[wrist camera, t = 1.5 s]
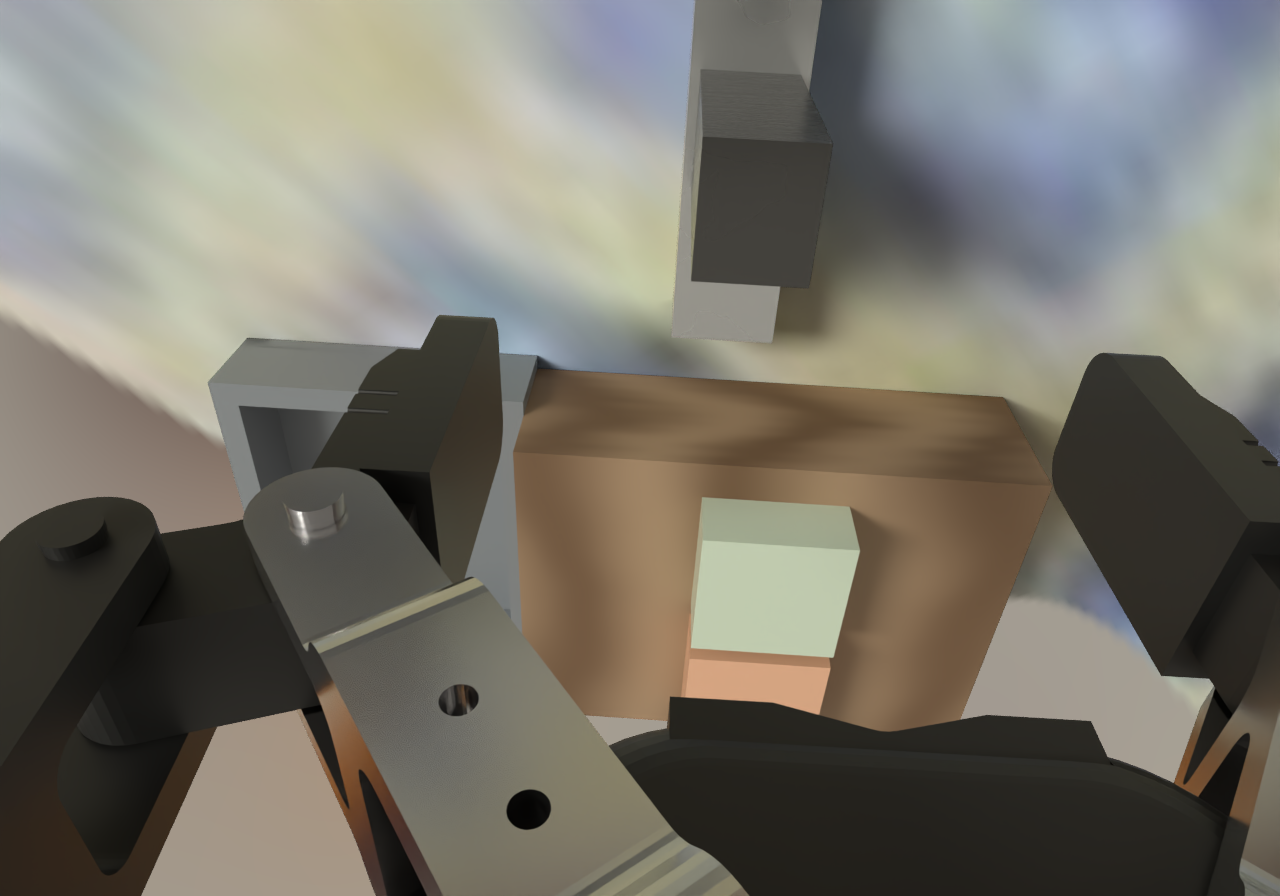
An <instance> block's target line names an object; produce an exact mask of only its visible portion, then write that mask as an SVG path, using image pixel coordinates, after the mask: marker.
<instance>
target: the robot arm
mask: <svg viewBox="0 0 1280 896" xmlns="http://www.w3.org/2000/svg"><path fill="white" fill-rule="evenodd" d="M347 408H348V411H347V412H344V414H343V416H342V417H341V419H340V421H339V423H338V424H337V426H336V428H335V429H334V431H333V433H332V434H331V436H330V438H329V440H328V441H327V443H326V445H325V446H324V448H323V450H322V451H321V453H320V455H319V456H318V458H317V460H316V461H315V463H314V465H313V467H312V468H311V469H309V470H304V471H300V472H296V473H293V474H290V475H288V476H285V477H283V478H280V479H278V480H276V481H274V482H272V483H271V484H269V485H268V486H266V487H265V488H263V489H262V490H261V491H260V492H258V493H257V494H256V495H255V496H254V497H253V499H252V500H251V501H250V502H249V504H248V506H247V507H246V509H245V512H244V516H243V520H239V521H236V522H231V523H226V524H221V525H214V526H208V527H201V528H195V529H188V530H182V531H175V532H169V533H162V534H160V532H159V529H158V526H157V524H156V521H155V518H154V516H153V513H152V512H151V511H150V510H149V509H148V508H147V507H146V506H144V505H143V504H141V503H139V502H136V501H133V500H130V499H125V498H118V497H96V498H89V499H82V500H77V501H73V502H69V503H66V504H62V505H59V506H56V507H53V508H51V509H48V510H46V511H43V512H41V513H39V514H37V515H35V516H33V517H31V518H29V519H28V520H26V521H25V522H23V523H21V524H20V525H18V526H17V527H16V528H14V529H13V530H12V531H11V532H9V533H8V534H7V535H6V536H5V537H4V538H3V539H2V540H1V541H0V896H141V895H142V892H143V890H144V888H145V886H146V883H147V881H148V879H149V877H150V875H151V872H152V870H153V868H154V866H155V863H156V861H157V859H158V857H159V854H160V852H161V850H162V848H163V846H164V843H165V841H166V839H167V837H168V835H169V832H170V830H171V828H172V826H173V824H174V821H175V819H176V817H177V815H178V812H179V810H180V808H181V806H182V803H183V801H184V799H185V797H186V795H187V792H188V790H189V788H190V786H191V784H192V781H193V779H194V777H195V775H196V772H197V770H198V768H199V766H200V763H201V761H202V759H203V757H204V755H205V752H206V750H207V748H208V746H209V744H210V741H211V739H212V737H213V735H214V732H215V730H216V728H217V727H218V726H223V725H227V724H232V723H237V722H242V721H246V720H251V719H256V718H260V717H265V716H270V715H274V714H279V713H284V712H288V711H293V710H297V712H298V715H299V717H300V719H301V721H302V723H303V726H304V728H305V730H306V732H307V735H308V737H309V739H310V741H311V743H312V746H313V748H314V749H315V752H316V754H317V756H318V759H319V761H320V763H321V765H322V767H323V770H324V772H325V774H326V776H327V778H328V781H329V783H330V785H331V787H332V789H333V792H334V794H335V796H336V798H337V800H338V802H339V805H340V807H341V809H342V811H343V814H344V816H345V818H346V820H347V822H348V824H349V827H350V829H351V831H352V834H353V836H354V838H355V841H356V843H357V846H358V848H359V851H360V854H361V856H362V860H363V862H364V865H365V868H366V871H367V874H368V877H369V880H370V882H371V885H372V887H373V890H374V893H375V895H376V896H1280V466H1278V465H1277V463H1278V461H1277V460H1276V459H1275V458H1274V457H1273V456H1272V455H1271V454H1270V452H1269V451H1268V450H1267V449H1266V448H1265V447H1264V446H1258V440H1257V439H1256V438H1255V437H1254V436H1253V435H1252V434H1251V433H1250V432H1249V431H1248V430H1247V429H1246V428H1245V427H1244V426H1243V424H1242V423H1241V422H1240V421H1239V420H1238V419H1237V418H1236V417H1235V416H1233V415H1231V414H1230V413H1228V412H1227V411H1225V410H1223V409H1222V408H1220V407H1218V406H1217V405H1215V404H1213V403H1212V402H1210V401H1209V400H1207V399H1205V398H1204V397H1202V396H1200V395H1199V394H1198V393H1197V392H1196V390H1195V389H1194V388H1193V387H1192V386H1191V385H1190V384H1189V383H1188V382H1187V381H1186V380H1185V379H1184V378H1183V377H1182V376H1181V374H1180V373H1179V372H1178V371H1177V370H1176V369H1175V368H1174V367H1173V366H1172V365H1171V364H1170V363H1169V362H1168V361H1167V360H1166V359H1165V358H1163V357H1161V356H1151V355H1133V354H1115V353H1100V354H1098V355H1096V356H1095V357H1094V358H1093V359H1092V360H1091V362H1090V363H1089V365H1088V366H1087V369H1086V371H1085V373H1084V376H1083V378H1082V381H1081V384H1080V386H1079V389H1078V391H1077V394H1076V397H1075V399H1074V402H1073V404H1072V407H1071V410H1070V412H1069V415H1068V417H1067V420H1066V423H1065V425H1064V428H1063V430H1062V433H1061V436H1060V438H1059V441H1058V443H1057V446H1056V449H1055V452H1054V457H1053V464H1052V477H1053V484H1054V488H1055V491H1056V493H1057V495H1058V497H1059V499H1060V501H1061V502H1062V504H1063V506H1064V508H1065V509H1066V511H1067V513H1068V515H1069V516H1070V518H1071V520H1072V522H1073V523H1074V525H1075V527H1076V529H1077V530H1078V532H1079V534H1080V535H1081V537H1082V539H1083V541H1084V542H1085V544H1086V546H1087V548H1088V549H1089V551H1090V553H1091V555H1092V556H1093V558H1094V560H1095V562H1096V563H1097V565H1098V567H1099V568H1100V570H1101V572H1102V574H1103V575H1104V577H1105V579H1106V581H1107V582H1108V584H1109V586H1110V588H1111V589H1112V591H1113V593H1114V595H1115V596H1116V598H1117V600H1118V601H1119V603H1120V605H1121V607H1122V608H1123V610H1124V612H1125V614H1126V615H1127V617H1128V619H1129V621H1130V622H1131V624H1132V626H1133V628H1134V629H1135V631H1136V633H1137V634H1138V636H1139V638H1140V640H1141V641H1142V643H1143V645H1144V647H1145V648H1146V650H1147V652H1148V654H1149V655H1150V657H1151V659H1152V661H1153V662H1154V664H1155V666H1156V667H1157V669H1158V671H1159V673H1160V674H1161V676H1174V677H1191V678H1208V679H1210V680H1211V682H1212V683H1213V685H1214V687H1213V688H1212V690H1211V691H1210V693H1209V695H1208V696H1207V698H1206V699H1205V701H1204V703H1203V704H1202V706H1201V708H1200V710H1199V713H1198V716H1197V719H1196V722H1195V724H1194V727H1193V730H1192V733H1191V736H1190V739H1189V742H1188V744H1187V747H1186V750H1185V753H1184V755H1183V758H1182V761H1181V764H1180V767H1179V770H1178V773H1177V775H1176V778H1175V781H1174V783H1172V782H1170V781H1168V780H1166V779H1163V778H1161V777H1159V776H1157V775H1155V774H1153V773H1151V772H1148V771H1146V770H1144V769H1141V768H1138V767H1136V766H1133V765H1130V764H1128V763H1124V762H1122V761H1119V760H1116V759H1113V758H1109V757H1107V755H1106V753H1105V750H1104V748H1103V746H1102V744H1101V742H1100V740H1099V738H1098V735H1097V734H1096V731H1095V729H1094V727H1093V725H1092V723H1091V721H1080V720H1063V719H1045V718H1028V717H1011V716H995V715H994V716H993V715H985V716H979V717H973V718H968V719H962V720H956V721H950V722H945V723H939V724H933V725H927V726H922V727H916V728H910V729H905V730H899V731H890V732H887V731H878V730H873V729H869V728H866V727H862V726H858V725H855V724H851V723H847V722H843V721H840V720H836V719H832V718H829V717H825V716H821V715H818V714H814V713H810V712H806V711H803V710H799V709H795V708H792V707H788V706H784V705H780V704H777V703H773V702H756V701H739V700H722V699H705V698H688V697H671V696H670V701H669V712H668V722H667V729H662V730H656V731H651V732H646V733H643V734H640V735H636V736H633V737H630V738H626V739H624V740H621V741H619V742H617V743H614V744H612V745H610V746H608V745H607V743H606V742H605V741H604V740H603V738H602V737H601V736H600V734H599V733H598V732H597V730H596V729H595V728H594V727H593V725H592V724H591V723H590V722H589V720H588V719H587V718H586V716H585V715H584V714H583V712H582V711H581V710H580V708H579V707H578V706H577V704H576V703H575V702H574V701H573V699H572V698H571V697H570V695H569V694H568V693H567V691H566V690H565V689H564V688H563V686H562V685H561V684H560V682H559V681H558V680H557V678H556V677H555V676H554V675H553V673H552V672H551V671H550V669H549V668H548V667H547V665H546V664H545V663H544V662H543V660H542V659H541V658H540V656H539V655H538V654H537V652H536V651H535V650H534V649H533V647H532V646H531V645H530V643H529V642H528V641H527V639H526V638H525V637H524V636H523V634H522V633H521V632H520V630H519V629H518V628H517V626H516V625H515V624H514V623H513V621H512V620H511V619H510V617H509V616H508V615H507V613H506V612H505V611H504V610H503V608H502V607H501V606H500V604H499V603H498V602H497V600H496V599H495V598H494V597H493V595H492V594H491V593H490V591H489V590H488V589H487V588H486V587H485V585H484V584H483V583H482V582H480V581H479V580H478V579H476V578H475V577H468V578H465V575H466V572H467V568H468V565H469V561H470V558H471V555H472V551H473V548H474V545H475V541H476V538H477V534H478V531H479V528H480V524H481V521H482V517H483V514H484V511H485V507H486V504H487V500H488V497H489V494H490V490H491V487H492V483H493V480H494V477H495V473H496V470H497V466H498V463H499V459H500V454H501V447H502V438H503V408H502V391H501V374H500V357H499V340H498V329H497V324H496V321H495V319H494V318H486V317H467V316H449V315H439V316H438V317H437V318H436V320H435V322H434V324H433V326H432V328H431V330H430V332H429V334H428V336H427V338H426V339H425V341H424V343H423V345H422V347H421V349H420V350H415V349H397V350H395V351H394V352H393V353H391V354H390V355H388V356H387V357H385V358H384V359H382V360H381V361H379V362H378V363H376V364H375V365H374V366H372V367H371V368H370V370H369V372H368V373H367V375H366V377H365V379H364V380H363V382H362V384H361V385H360V387H359V389H358V394H355V395H354V397H353V399H352V401H351V402H350V404H349V406H348V407H347ZM464 578H465V579H464Z"/></svg>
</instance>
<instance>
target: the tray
mask: <svg viewBox="0 0 1280 896" xmlns="http://www.w3.org/2000/svg"><path fill="white" fill-rule="evenodd" d="M397 349H415V350H420V349H418V348H402V347H386V346H370V345H353V344H337V343H321V342H305V341H289V340H272V339H256V338H247V339H246V340H245V341H244V342H243V344H242V345H241V346H240V347H239V348H238V349H237V350H236V351H235V352H234V354H233V355H232V356H231V357H230V358H229V359H228V360H227V361H226V363H225V364H224V365H223V366H222V367H221V368H220V369H219V370H218V371H217V373H216V374H215V375H214V376H213V377H212V378H211V379H210V380H209V382H208V386H209V389H210V393H211V396H212V400H213V403H214V407H215V410H216V414H217V418H218V421H219V425H220V428H221V432H222V435H223V439H224V442H225V446H226V449H227V453H228V456H229V460H230V464H231V467H232V471H233V474H234V478H235V481H236V485H237V488H238V492H239V495H240V499H241V502H242V506H243V509H244V512H245V509H246V507H247V506H248V504H249V502H250V501H251V500H252V499H253V497H254V496H255V495H256V494H257V493H258V492H260V491H261V490H262V489H263V488H265V487H266V486H268V485H269V484H271V483H272V482H274V481H276V480H278V479H280V478H283V477H285V476H288V475H290V474H293V473H296V472H300V471H304V470H309V469H311V468H312V467H313V465H314V463H315V461H316V460H317V458H318V456H319V455H320V453H321V451H322V450H323V448H324V446H325V445H326V443H327V441H328V440H329V438H330V436H331V434H332V433H333V431H334V429H335V428H336V426H337V424H338V423H339V421H340V419H341V417H342V416H343V414H344V412H347V411H348V408H347V407H348V406H349V404H350V402H351V401H352V399H353V397H354V395H355V394H358V389H359V387H360V385H361V384H362V382H363V380H364V379H365V377H366V375H367V373H368V372H369V370H370V368H371V367H372V366H374V365H375V364H376V363H378V362H379V361H381V360H382V359H384V358H385V357H387V356H388V355H390V354H391V353H393V352H394V351H395V350H397ZM499 357H500V374H501V391H502V408H503V438H502V447H501V454H500V459H499V463H498V466H497V470H496V473H495V477H494V480H493V483H492V487H491V490H490V494H489V497H488V500H487V504H486V507H485V511H484V514H483V517H482V521H481V524H480V528H479V531H478V534H477V538H476V541H475V545H474V548H473V551H472V555H471V558H470V561H469V565H468V568H467V572H466V575H465V578H468V577H475V578H476V579H478V580H479V581H480V582H482V583H483V584H484V585H485V587H486V588H487V589H488V590H489V591H490V593H491V594H492V595H493V597H494V598H495V599H496V600H497V602H498V603H499V604H500V606H501V607H502V608H503V610H504V611H505V612H506V613H507V615H508V616H509V617H510V619H511V620H512V621H513V623H514V624H515V625H516V626H517V628H518V629H519V630H520V632H521V633H522V619H521V600H520V580H519V561H518V541H517V522H516V502H515V483H514V463H513V450H514V447H515V443H516V440H517V436H518V433H519V430H520V426H521V423H522V419H523V416H524V413H525V409H526V406H527V402H528V399H529V396H530V392H531V389H532V385H533V382H534V379H535V375H536V372H537V356H532V355H516V354H500V353H499ZM465 578H464V579H465Z"/></svg>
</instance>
